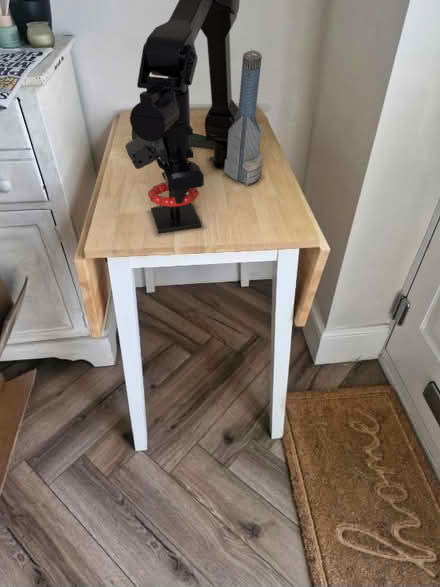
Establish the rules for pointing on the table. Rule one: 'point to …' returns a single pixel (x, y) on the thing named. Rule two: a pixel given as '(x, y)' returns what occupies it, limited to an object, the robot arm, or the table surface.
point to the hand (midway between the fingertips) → (177, 200)
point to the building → (246, 127)
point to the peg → (175, 218)
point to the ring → (170, 201)
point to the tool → (195, 140)
